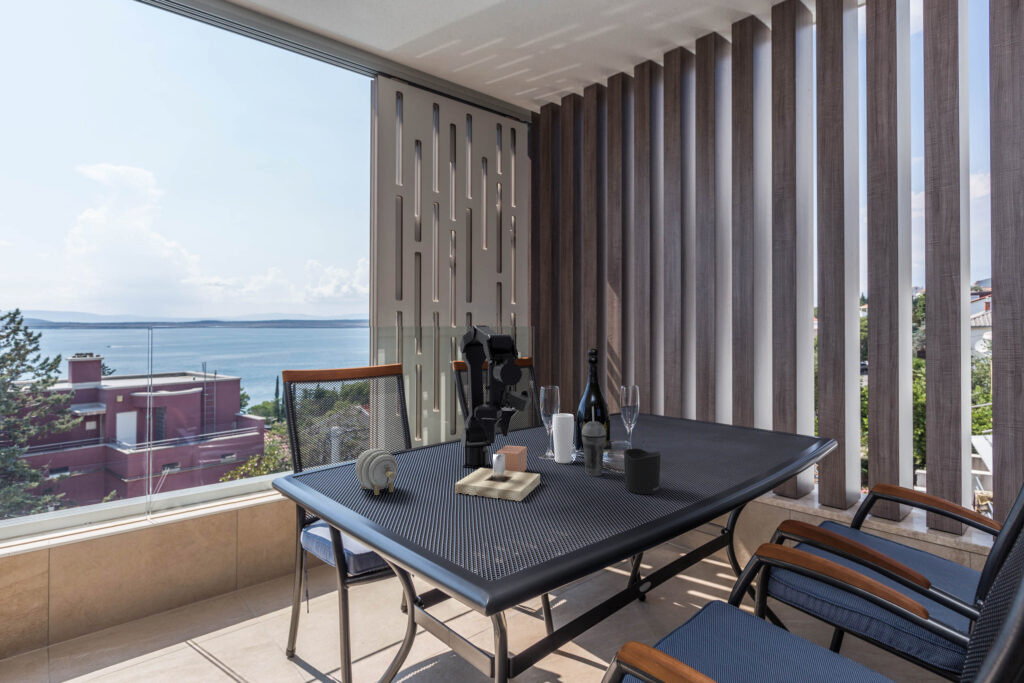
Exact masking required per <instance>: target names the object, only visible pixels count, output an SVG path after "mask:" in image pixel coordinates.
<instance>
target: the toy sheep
mask: <svg viewBox="0 0 1024 683" xmlns="http://www.w3.org/2000/svg"><path fill="white" fill-rule="evenodd" d="M354 466H355V469H354V470H355V474H356V478H357V480H358V481H359V483H360V484H361V485H360V487H361V488H362V489H361V490H365V489H364V488H366V489H368V490H370V491H371V490H373V493H374V496H375V495H380V491H381V490H383V489H385V488H387V487H388V493H390V492H392V493H393V492H394V481H395V479H396V477H397V475H398V471H399V466H398V461H397V460H396V457H395V456H394V455H393V454H392V453H391V452H389V451H388V450H386V449H383V448H371V449H367V450H365V451H363V452H362V453H361V454H359V456H358V457H357V460H356V462H355V465H354Z"/></svg>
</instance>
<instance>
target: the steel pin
mask: <svg viewBox="0 0 1024 683" xmlns="http://www.w3.org/2000/svg"><path fill="white" fill-rule="evenodd" d="M492 469H493V481H499V482H504V481H505V454H503V453H493V454H492Z"/></svg>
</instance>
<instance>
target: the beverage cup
mask: <svg viewBox="0 0 1024 683" xmlns="http://www.w3.org/2000/svg"><path fill="white" fill-rule="evenodd" d="M594 407H595V406H591V414H592V415H591V416H592V417H591V419H592V420H590V421H588V422H586V423H585V425H584V426H583V427H582V429H581V430H582V431H581V441H582V446H583V456H584V457H583V458H584V469H585V475H587V476H591V477H599V476H602V471H603V464H604V452H605V443H606V439H607V436H608V435H607V432H606V431H607V430H606V428H605V427H604V426H605V425H604V424H602V423H601V422H599V421H597V420H595V408H594Z"/></svg>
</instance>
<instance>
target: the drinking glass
mask: <svg viewBox="0 0 1024 683" xmlns="http://www.w3.org/2000/svg"><path fill="white" fill-rule="evenodd" d="M551 423H552V437H553V438H552V439H553V451H554V453H553V454H554V461H555V462H556V463H557V464H569V463H571V462H572V454H573V453H572V451H573V444H574V443H573V442H574V441H573V440H574V439H573V438H574V433H575V432H574V430H575V428H574V427H575V416H574V414H572V413H562V412H561V413H560V412H559V413H554V414H552V422H551Z"/></svg>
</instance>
